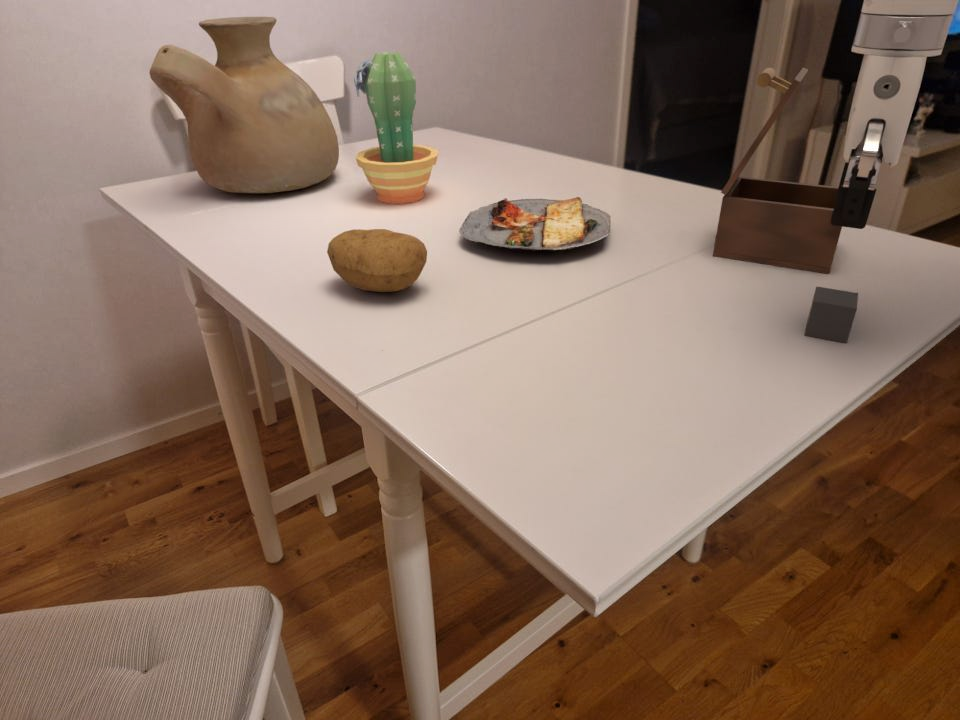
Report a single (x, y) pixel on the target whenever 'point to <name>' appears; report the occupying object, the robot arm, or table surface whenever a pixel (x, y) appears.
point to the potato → (377, 259)
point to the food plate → (537, 224)
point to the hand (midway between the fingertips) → (849, 212)
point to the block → (831, 314)
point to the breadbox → (778, 224)
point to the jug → (248, 111)
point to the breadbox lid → (788, 89)
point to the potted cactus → (393, 131)
